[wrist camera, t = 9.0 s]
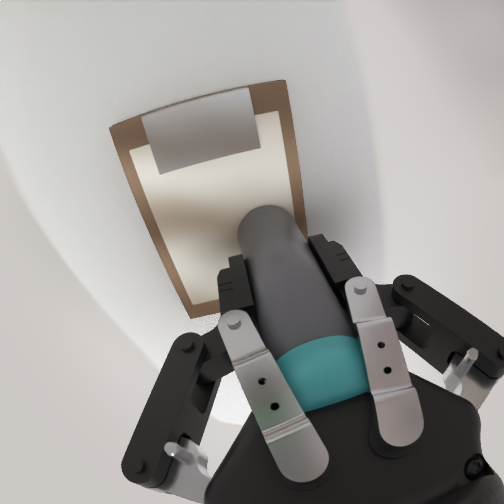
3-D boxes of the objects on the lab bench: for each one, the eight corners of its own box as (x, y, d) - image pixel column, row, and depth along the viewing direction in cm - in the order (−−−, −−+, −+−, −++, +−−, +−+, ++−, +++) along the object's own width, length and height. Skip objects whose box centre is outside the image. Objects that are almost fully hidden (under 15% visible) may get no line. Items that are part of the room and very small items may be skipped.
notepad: (113, 125, 13) (102, 132, 12) (281, 79, 13) (291, 81, 12) (190, 310, 21) (190, 329, 20) (308, 281, 21) (316, 298, 20)
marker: (230, 214, 16) (272, 412, 7) (293, 198, 16) (394, 373, 7) (244, 263, 18) (285, 443, 9) (299, 249, 18) (375, 415, 9)
